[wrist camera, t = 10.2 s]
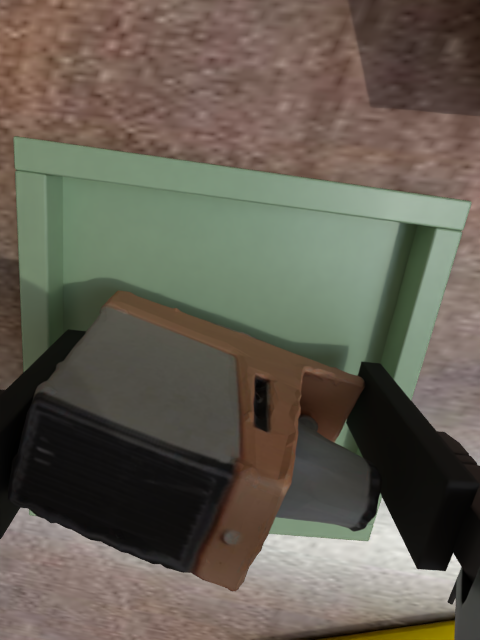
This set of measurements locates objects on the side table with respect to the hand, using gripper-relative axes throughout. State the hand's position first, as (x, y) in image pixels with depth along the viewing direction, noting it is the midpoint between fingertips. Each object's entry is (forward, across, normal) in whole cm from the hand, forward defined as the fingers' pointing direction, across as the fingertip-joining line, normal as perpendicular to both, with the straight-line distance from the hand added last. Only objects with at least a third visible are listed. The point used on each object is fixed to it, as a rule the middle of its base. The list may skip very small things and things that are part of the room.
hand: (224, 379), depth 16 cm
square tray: (+2, 0, 0) cm, 2 cm away
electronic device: (0, 0, 0) cm, 0 cm away
